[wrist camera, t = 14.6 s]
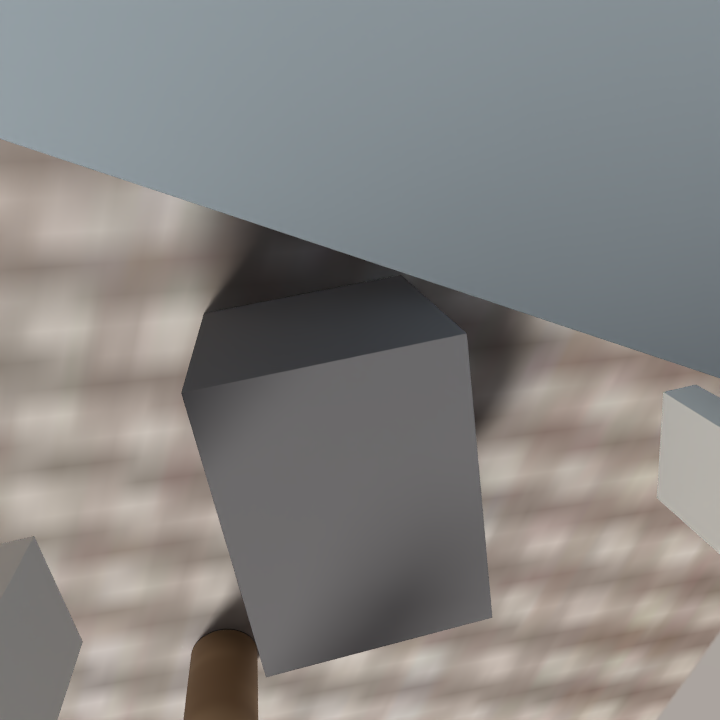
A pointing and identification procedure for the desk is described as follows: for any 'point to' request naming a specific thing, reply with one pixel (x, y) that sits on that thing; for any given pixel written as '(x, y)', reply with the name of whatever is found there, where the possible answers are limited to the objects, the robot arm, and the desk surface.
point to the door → (415, 138)
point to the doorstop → (342, 468)
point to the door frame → (223, 678)
